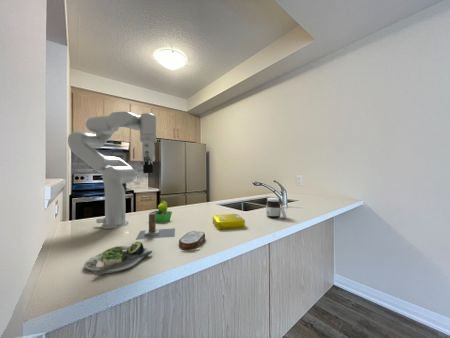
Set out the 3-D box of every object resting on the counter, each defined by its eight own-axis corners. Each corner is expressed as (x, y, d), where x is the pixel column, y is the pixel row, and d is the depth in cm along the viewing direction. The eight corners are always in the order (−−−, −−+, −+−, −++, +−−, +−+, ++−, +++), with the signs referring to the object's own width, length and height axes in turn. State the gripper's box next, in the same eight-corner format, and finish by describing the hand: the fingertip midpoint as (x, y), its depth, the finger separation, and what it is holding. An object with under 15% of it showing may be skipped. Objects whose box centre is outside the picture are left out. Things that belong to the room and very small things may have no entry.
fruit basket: (147, 222, 112) (147, 202, 112) (157, 218, 120) (157, 199, 120) (165, 224, 109) (165, 203, 108) (174, 219, 117) (174, 200, 117)
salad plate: (120, 283, 54) (120, 266, 54) (65, 277, 57) (65, 261, 57) (157, 253, 73) (157, 240, 73) (114, 249, 76) (114, 237, 76)
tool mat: (135, 241, 83) (135, 239, 83) (140, 231, 95) (140, 230, 95) (174, 237, 87) (174, 236, 87) (175, 229, 99) (175, 228, 99)
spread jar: (264, 215, 128) (264, 197, 128) (281, 214, 129) (281, 197, 129) (271, 220, 116) (271, 200, 116) (289, 219, 117) (289, 200, 117)
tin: (174, 249, 75) (195, 252, 73) (175, 240, 75) (196, 244, 73) (189, 235, 90) (207, 238, 88) (190, 228, 90) (208, 231, 88)
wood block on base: (144, 236, 88) (144, 215, 87) (146, 232, 92) (146, 212, 92) (158, 235, 89) (158, 214, 89) (159, 231, 94) (159, 212, 94)
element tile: (245, 228, 102) (245, 219, 102) (217, 230, 98) (217, 221, 98) (237, 220, 116) (237, 212, 116) (212, 222, 113) (212, 214, 113)
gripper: (154, 136, 92) (154, 173, 92) (157, 141, 108) (157, 172, 109) (136, 136, 90) (136, 173, 90) (143, 140, 107) (143, 172, 107)
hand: (148, 172), depth 99 cm, fingers open, 9 cm apart
